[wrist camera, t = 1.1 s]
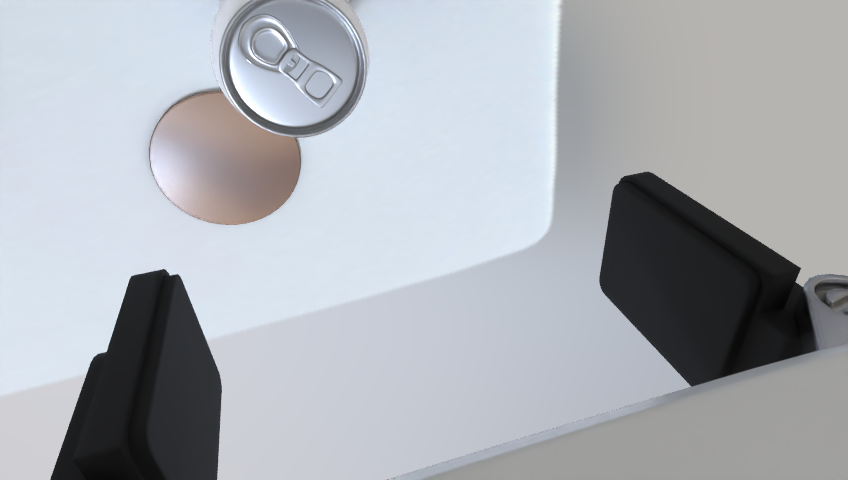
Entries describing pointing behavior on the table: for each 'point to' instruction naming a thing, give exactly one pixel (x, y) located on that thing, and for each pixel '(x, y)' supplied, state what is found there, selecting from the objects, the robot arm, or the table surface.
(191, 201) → the coaster
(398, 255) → the table surface
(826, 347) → the robot arm
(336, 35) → the can
